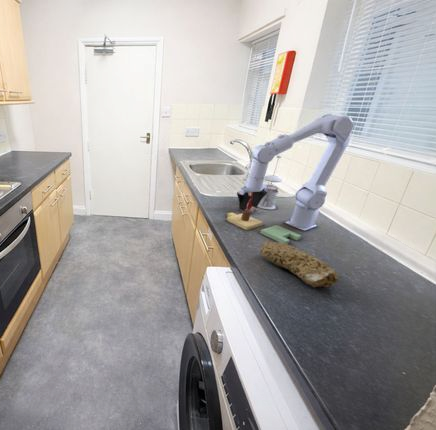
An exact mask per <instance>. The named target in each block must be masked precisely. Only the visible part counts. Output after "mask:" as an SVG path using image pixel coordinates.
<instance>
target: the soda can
mask: <svg viewBox="0 0 436 430" xmlns="http://www.w3.org/2000/svg"><path fill="white" fill-rule="evenodd" d="M248 194H249V195H250V196H252V197H253V193H252V192H250V193H248ZM252 197H251V199H250V200H249V202H248V204H247V207H246V209H245V210H249V211H251V214H252V213H254V212H255V211H256V209H257V207H256V208H255V207H253V206H251V203H252ZM239 210H240V211H241V213H243V210H241V209H239Z"/></svg>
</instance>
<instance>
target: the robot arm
mask: <svg viewBox="0 0 436 430" xmlns="http://www.w3.org/2000/svg"><path fill="white" fill-rule="evenodd" d="M353 120H354V119H352V117H351V116H349V115H336V114H331V113H327V114H323V115H322V116H321V117H318V118H315V120H314V121H312V122H310V123H309V124H307V125H305V126H303V127H302V128H300V129H298V130H296V131H294V132H292V133H291V134H279V135H277V137H276V138H274V139H272V140H270V141H266V142H264V144H259V145H257V146H255V147H254V149H252V151H251V152H250V156H251V158H252V161H251V165H250V169H249V171H248V176H247V181H246V183H245V184H243V187H241V188H239V190H238V191H237V193H236V195H237V199H238V206H239V207H238V209H239V210H240V209H241V210H243V211H244V210H245V209H246V207H247V204H248V202H249V200H250V199H251V197H252V196H250V195H249V194H248V193H250V192H252V193H253V197H252V203H251V206H253V207H255V208H256V209H257V206H258V204H259V203H260V201H261V200H262V198H263V197H264V196H265V195H266V194H267V192H266V191H264V190H266V188H267V185H268V184H264V182H265V180H264V178H265V176H266V174H267V171H268V167H269V163H270V162H272V161H273V160H274V158H275V157H277V156H278V155H280V154H282V153H284V152H286V151H288V150H290V149H292V148H293V146H294V144H295V143H298V142H300V141H302V140H305V139H307V138H309V137H311V136H314V135H316V134H323V136H325V137H326V140H327V141H328V144H327V147H326V148H325V150H324V151H323V154H322V156H321V158H320V159H319V162H318V163H317V165H316V167H315V169H314V171H313V173H312V174H311V176H310V179H309V180H308V181H306V182H304V183H302V185H301V186H300V187H299V188H298V189H297V191H296V192H295V194H294V197H295V200H296V201H295V202H296V204H295V207H294V210H293V213H292V215H291V217H290V218H291V219H290V220H287V221H285V224H287V225H289V226H291V227H294V228H297V229H298V230H301V231H303V232H304V231H308V230H311V229H314V228H315V227H317V224H316V221H317V219H318V217H319V214H320V208H322V207H323V206H324V204H326V203H325V202H326V196H327V194H328V191H327V189H326V184H327V183H328V182H329V180H330V178H331V176H332V175H333V172H334V171H335V169H336V167H337V166H338V163H339V161H340V160H341V158H342V156H343V155H344V153H345V151H346V149H347V147H348V145H350V142H351V137H352V132H353V130H354V128H355V126H356V123H355V122H354V121H353ZM241 210H240V211H241Z"/></svg>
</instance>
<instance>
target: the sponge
mask: <svg viewBox="0 0 436 430" xmlns="http://www.w3.org/2000/svg"><path fill="white" fill-rule="evenodd" d="M259 252H260V254H261V257H263V258H264V259H266V260H267V261H268V262H269V263H272V264H273V265H276V267H279V268H283V269H286V270H288V271H289V272H291V273H292V274H294V275H295V276H297V277H298V278H299V279H300V280H301V281H303V282H304V283H305V284H306V285H309V286H310V287H312V288H321V287H323V288H329V287H332V286H333V285H334V284H336V283H337V282H338V281H339V278H340V275H338V272H336V271H335V270H334V269H333V268H332V267H331V266H330V265H328V264H327V263H326V262H324V261H323V260H322V259H320V258H318V257H316V256H315V255H312V254H310V253H308V252H307V251H303V250H302V249H299V248H298V247H295V246H293V245H290V244H289V243H288V244H284V243H280V242H278V241H267V242H263V243H262V246H261V247H260V250H259Z"/></svg>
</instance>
